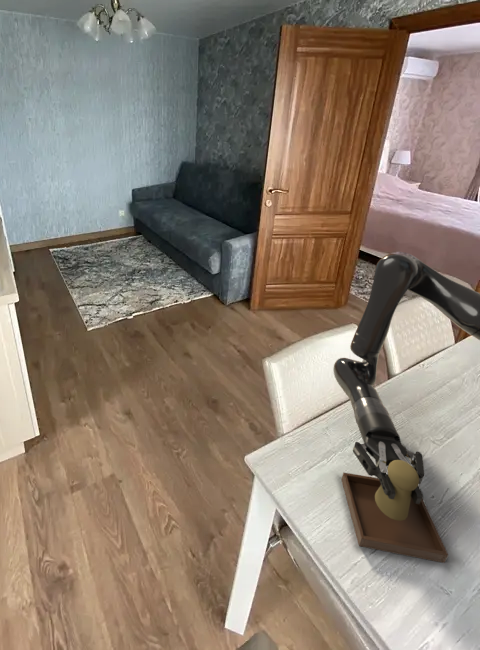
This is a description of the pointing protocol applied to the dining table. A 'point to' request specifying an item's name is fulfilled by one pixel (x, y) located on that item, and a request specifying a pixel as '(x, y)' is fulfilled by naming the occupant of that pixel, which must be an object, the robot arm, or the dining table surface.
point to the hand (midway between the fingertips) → (405, 498)
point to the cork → (398, 490)
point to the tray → (391, 523)
